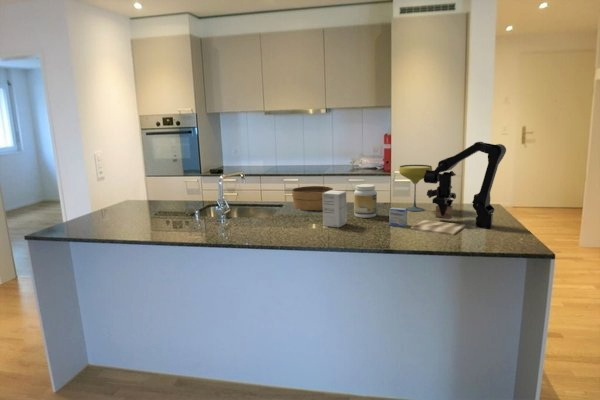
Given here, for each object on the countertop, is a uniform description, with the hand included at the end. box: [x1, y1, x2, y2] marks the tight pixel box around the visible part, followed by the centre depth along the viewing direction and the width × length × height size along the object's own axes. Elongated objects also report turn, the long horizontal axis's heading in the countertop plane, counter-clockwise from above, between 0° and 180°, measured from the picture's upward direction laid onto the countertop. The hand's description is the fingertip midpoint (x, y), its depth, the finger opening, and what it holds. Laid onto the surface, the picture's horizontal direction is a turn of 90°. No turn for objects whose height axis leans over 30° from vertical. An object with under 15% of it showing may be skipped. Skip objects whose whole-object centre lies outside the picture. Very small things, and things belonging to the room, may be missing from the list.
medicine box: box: [388, 207, 408, 228], centre depth 208 cm, size 8×4×9 cm, turn 62°
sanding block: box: [435, 205, 453, 220], centre depth 214 cm, size 7×4×6 cm, turn 53°
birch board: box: [410, 219, 466, 236], centre depth 202 cm, size 20×18×1 cm
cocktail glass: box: [398, 164, 433, 213], centre depth 241 cm, size 18×18×25 cm
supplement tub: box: [353, 183, 378, 219], centre depth 230 cm, size 12×12×17 cm
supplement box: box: [322, 189, 348, 228], centre depth 212 cm, size 10×9×17 cm
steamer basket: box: [291, 185, 334, 211], centre depth 259 cm, size 25×25×11 cm
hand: (443, 214), depth 214 cm, fingers closed on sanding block, 4 cm apart
